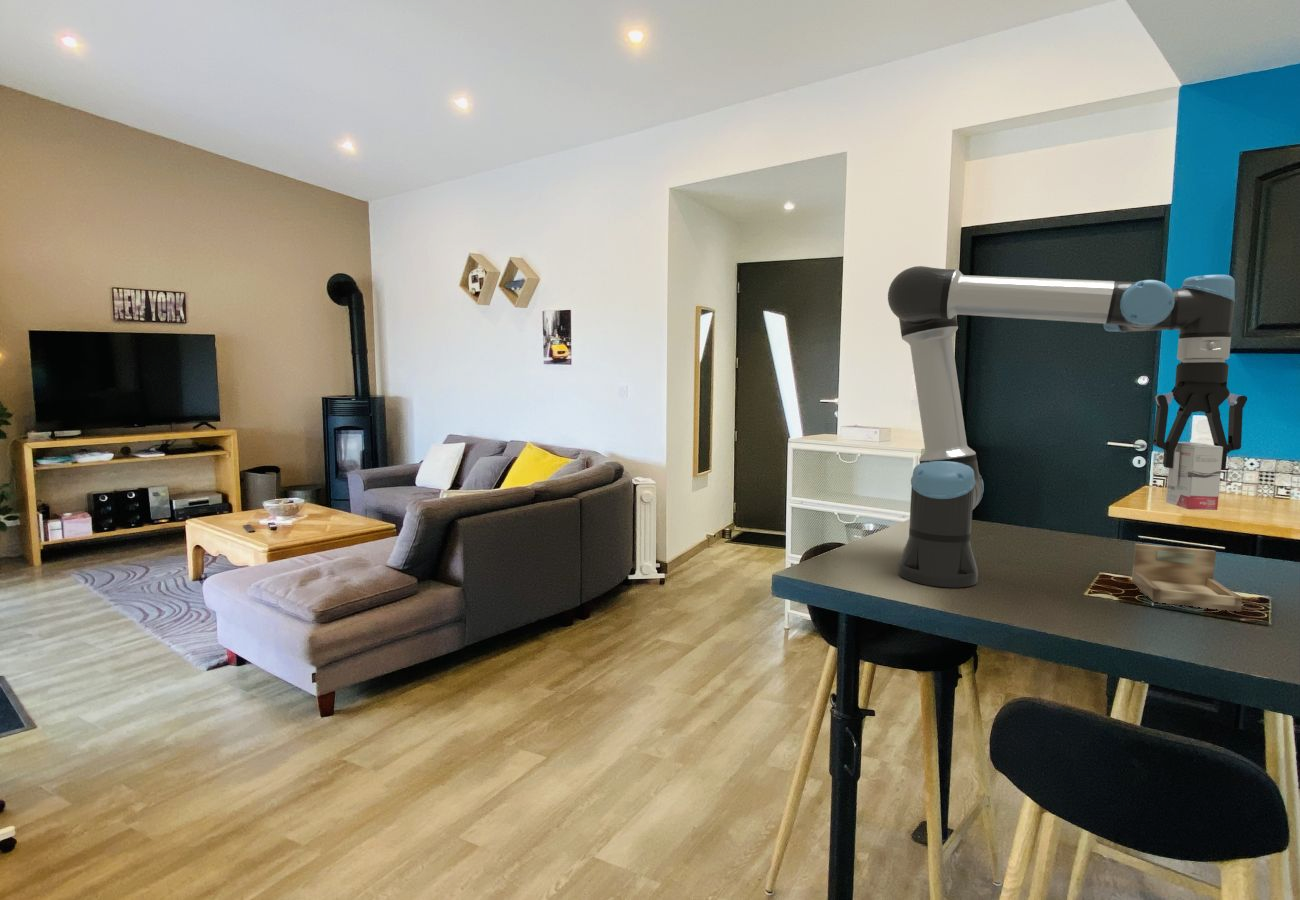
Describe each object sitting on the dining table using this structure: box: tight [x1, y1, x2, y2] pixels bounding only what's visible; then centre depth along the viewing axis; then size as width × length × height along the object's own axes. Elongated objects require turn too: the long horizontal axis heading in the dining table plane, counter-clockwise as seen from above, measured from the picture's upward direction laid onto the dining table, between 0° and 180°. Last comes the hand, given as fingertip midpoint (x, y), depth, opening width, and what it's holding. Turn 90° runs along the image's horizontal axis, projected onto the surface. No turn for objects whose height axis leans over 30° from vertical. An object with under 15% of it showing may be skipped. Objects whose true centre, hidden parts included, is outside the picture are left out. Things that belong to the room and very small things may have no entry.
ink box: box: [1165, 441, 1223, 511], centre depth 127 cm, size 9×5×12 cm, turn 167°
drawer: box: [1131, 543, 1243, 613], centre depth 130 cm, size 13×14×8 cm
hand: (1192, 486), depth 128 cm, fingers closed on ink box, 5 cm apart
